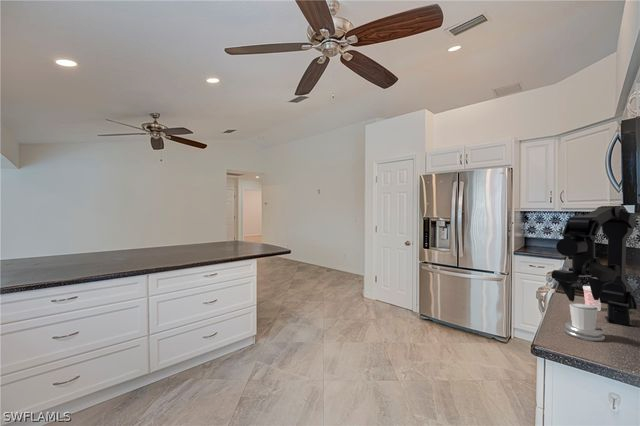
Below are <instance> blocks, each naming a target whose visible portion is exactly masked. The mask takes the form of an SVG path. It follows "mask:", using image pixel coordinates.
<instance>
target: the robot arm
mask: <svg viewBox="0 0 640 426" xmlns="http://www.w3.org/2000/svg"><path fill="white" fill-rule="evenodd" d="M634 228H636V219H635V218H634V216H633V215H632V214H631V213H629V212H626V211H624V210H622V209H621V208H620V207H619V206H617V205H601V206H598V207H597V208H596V209H595V210H592V211H590V212H589V213H587V214H584V215H574V216H570V217H569V218H568V220H566V223H565V225H564V229H563V231H562V233H561V237H563V238H561V239H560V240H558V241H557V242H556V243H557V244H556V246H555V248H556V251H557V252H558V254H560V255H561V256H565V257H568V260H571V267H568V270H565V269H554V270H552V271H551V273H550V274H551V279H553V280H554V281H556V282H557V283H558V284H559V286H560V287H561V288H562V291H563V292H564V293H565V295H566V297H567V298H568V300H569V302H571V303H575V297H576V296H575V295H576V287H577V286H578V285H579V284H580V282H578V281H579V279H584V278H585V279H586V278H587V280H588V281H587V282H588V284H589V286H590V288H591V292H592V295H593V298H594V300H599V298H600V303H601V304H604V305H606V308H607V311H606V313H607V315H604V319H605V320H606V321H607V322H608V323H610V324H611V323H612V324H617V325H623V326H627V327H628V326H629V327H634V324H633V323H632V322H631V310H638V306H639V305H638V303H639V302H638V300H637V298H636V296H635V295H634V293H633V289H632V288H633V287H632V286H631V285H630V284H629V282H628V280H627V279H626V269H627V268H626V264H627V263H626V262H627V239H629V238H630V236H632V235H633V234H634ZM600 231H602V233H603V234H604V235H605V236H606V238H607V260H606V261H607V264H603V263H601V260H600V258H599V257H596V241H597V237H596V236H597V235H598V234H599V232H600Z"/></svg>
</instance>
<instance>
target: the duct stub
mask: <svg viewBox="0 0 640 426" xmlns="http://www.w3.org/2000/svg"><path fill="white" fill-rule="evenodd" d="M563 333H565V334H567V335H568V336H570V337H573V338H576V339H580V340H583V341H587V342H595V343H596V342H597V343H599V342H604V341H605V340H606V335H605V334H604V333H603V329H602V328H601V327H598V326H596V328H595V330H584V329H579V328H576V327H574V326H573V325H572V321H566V322H565V326H564V327H563Z"/></svg>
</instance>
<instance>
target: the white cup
mask: <svg viewBox="0 0 640 426" xmlns="http://www.w3.org/2000/svg"><path fill="white" fill-rule="evenodd" d="M597 310H598V308H596V307H594V306H591V305H586V304H585V303H580V302H579V303H578V302H570V303H569V311H570V318H571V322H572V325H573V326H574V327H576V328H579V329H584V330H595V328H596V327H597V319H598V318H597V316H598V311H597Z"/></svg>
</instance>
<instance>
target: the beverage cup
mask: <svg viewBox="0 0 640 426" xmlns="http://www.w3.org/2000/svg"><path fill="white" fill-rule="evenodd" d="M582 289H583V295H584V304H586V305H591V306H594V307H596V308H598V310H597V312H599V311H601V309H602V308H601V307H602V303H600V298H599V300H594V298H593V295H592V292H591V288H590V285H582Z"/></svg>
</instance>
